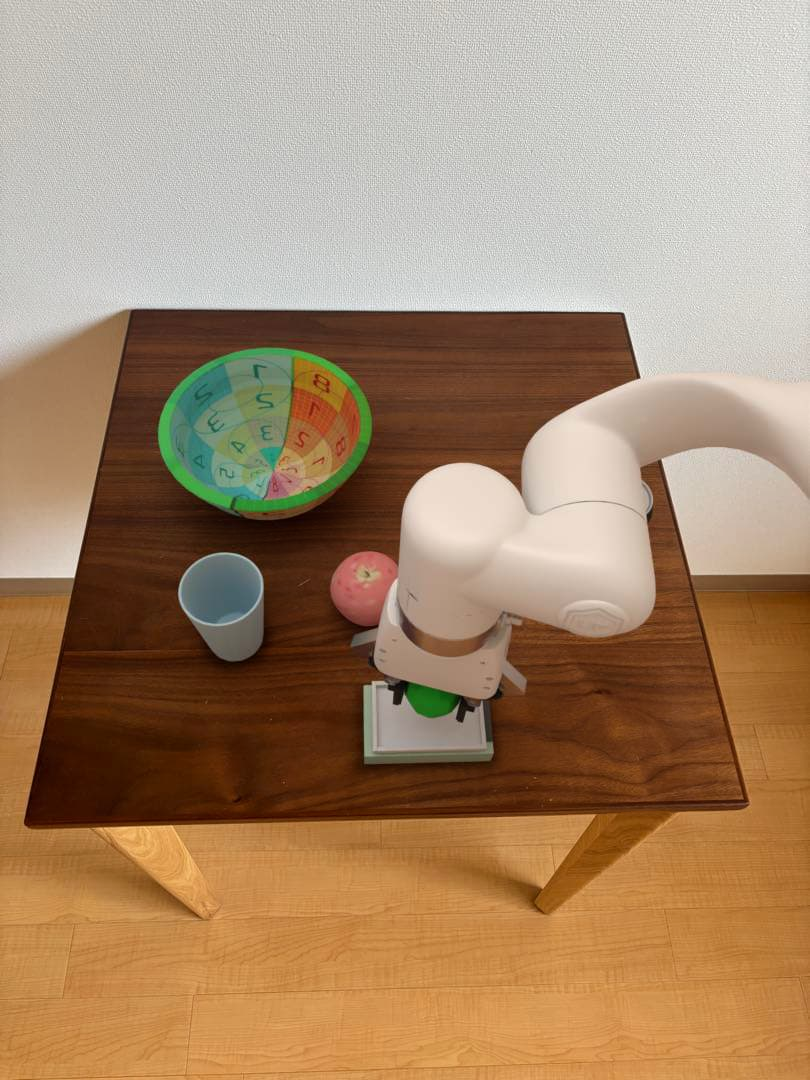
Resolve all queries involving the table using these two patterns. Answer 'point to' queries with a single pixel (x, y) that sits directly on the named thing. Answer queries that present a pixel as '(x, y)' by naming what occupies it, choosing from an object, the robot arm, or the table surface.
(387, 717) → the scale
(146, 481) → the table surface
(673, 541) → the table surface
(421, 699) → the polyhedron
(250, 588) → the cup
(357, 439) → the bowl
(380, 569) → the apple
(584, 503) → the robot arm
